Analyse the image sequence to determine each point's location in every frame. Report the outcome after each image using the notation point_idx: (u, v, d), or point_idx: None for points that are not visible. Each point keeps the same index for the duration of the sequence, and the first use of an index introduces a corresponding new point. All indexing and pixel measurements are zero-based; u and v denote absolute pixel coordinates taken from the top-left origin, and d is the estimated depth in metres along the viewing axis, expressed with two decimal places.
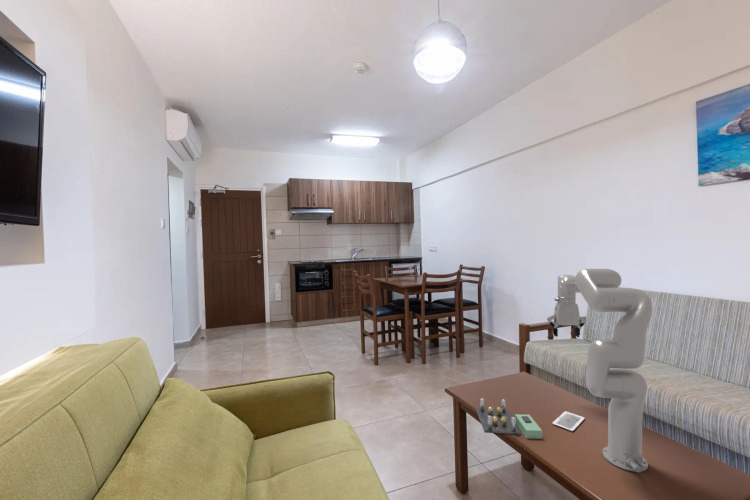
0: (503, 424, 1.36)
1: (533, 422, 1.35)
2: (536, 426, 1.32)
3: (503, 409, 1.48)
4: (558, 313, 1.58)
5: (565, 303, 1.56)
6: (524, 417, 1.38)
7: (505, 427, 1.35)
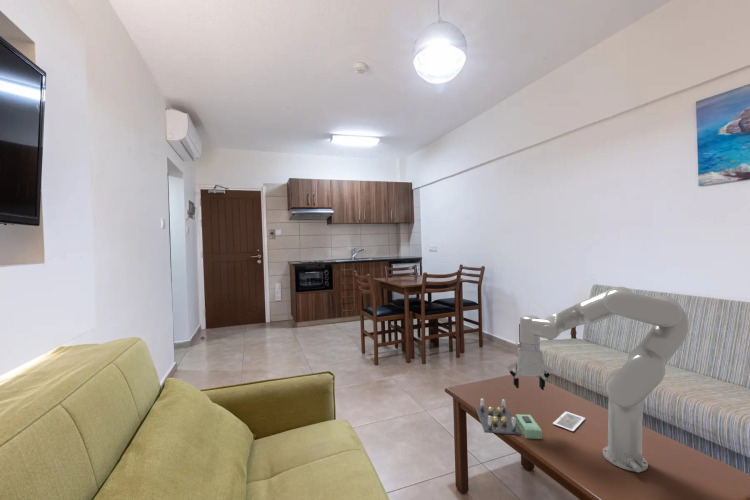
0: (503, 424, 1.36)
1: (533, 422, 1.35)
2: (536, 426, 1.32)
3: (503, 409, 1.48)
4: (519, 361, 1.34)
5: (527, 350, 1.32)
6: (524, 417, 1.38)
7: (505, 427, 1.35)
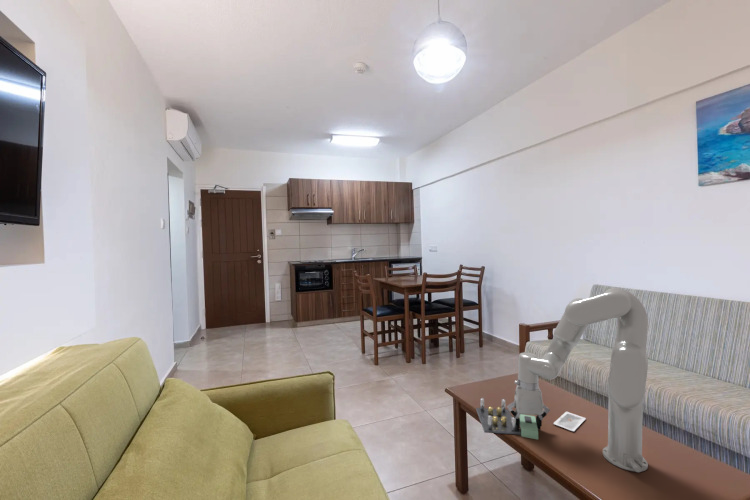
0: (503, 424, 1.36)
1: (534, 423, 1.34)
2: (534, 427, 1.31)
3: (503, 409, 1.48)
4: (518, 400, 1.33)
5: (526, 389, 1.32)
6: (526, 417, 1.37)
7: (505, 427, 1.35)
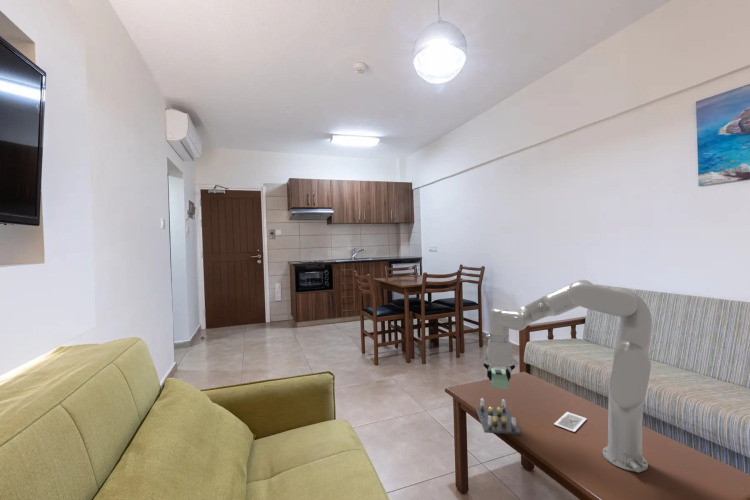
0: (503, 424, 1.36)
1: (504, 374, 1.40)
2: (504, 377, 1.37)
3: (503, 409, 1.48)
4: (489, 352, 1.39)
5: (496, 341, 1.37)
6: (497, 370, 1.43)
7: (505, 427, 1.35)
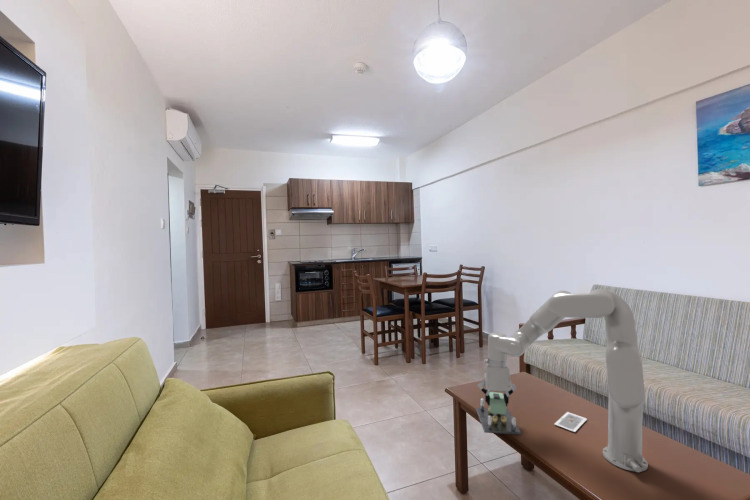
0: (503, 424, 1.36)
1: (502, 399, 1.40)
2: (502, 402, 1.38)
3: None
4: (487, 377, 1.39)
5: (494, 367, 1.38)
6: (495, 394, 1.44)
7: (505, 427, 1.35)
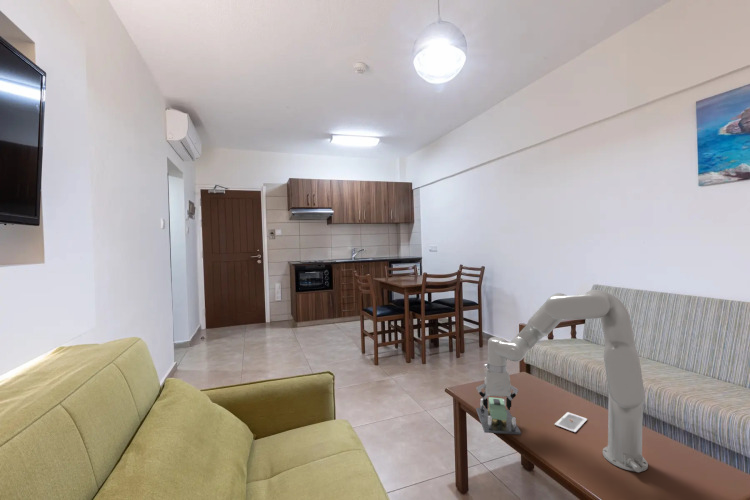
0: (503, 424, 1.36)
1: (502, 405, 1.40)
2: (503, 408, 1.38)
3: None
4: (487, 382, 1.39)
5: (494, 372, 1.38)
6: (495, 400, 1.44)
7: (505, 427, 1.35)
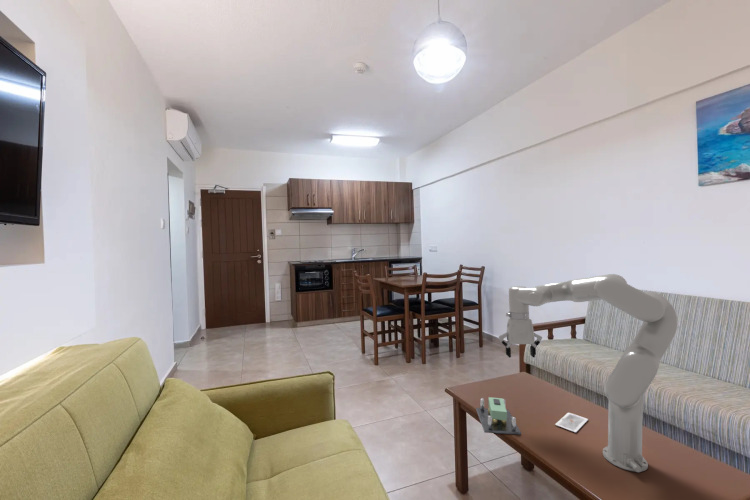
0: (503, 424, 1.36)
1: (502, 405, 1.40)
2: (503, 408, 1.38)
3: None
4: (510, 330, 1.38)
5: (517, 319, 1.37)
6: (495, 400, 1.44)
7: (505, 427, 1.35)
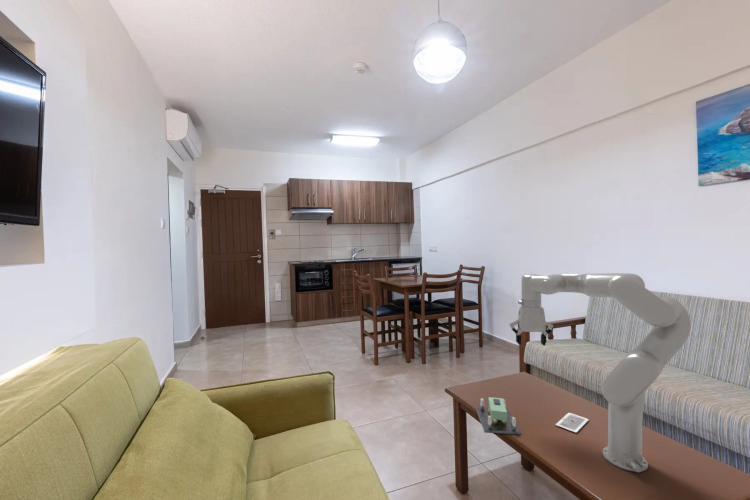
0: (503, 424, 1.36)
1: (502, 405, 1.40)
2: (503, 408, 1.38)
3: None
4: (521, 318, 1.38)
5: (529, 307, 1.37)
6: (495, 400, 1.44)
7: (505, 427, 1.35)
